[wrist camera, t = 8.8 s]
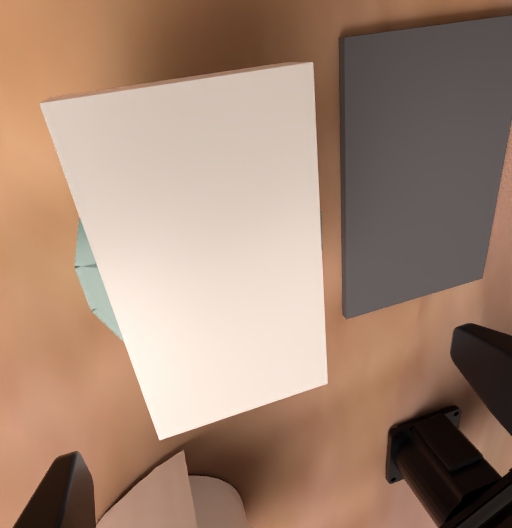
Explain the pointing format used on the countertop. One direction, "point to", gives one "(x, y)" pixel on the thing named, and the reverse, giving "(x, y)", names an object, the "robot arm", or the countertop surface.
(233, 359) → the white rectangular block
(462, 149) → the mat
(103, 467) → the countertop surface
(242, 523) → the toilet tissue
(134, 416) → the countertop surface
